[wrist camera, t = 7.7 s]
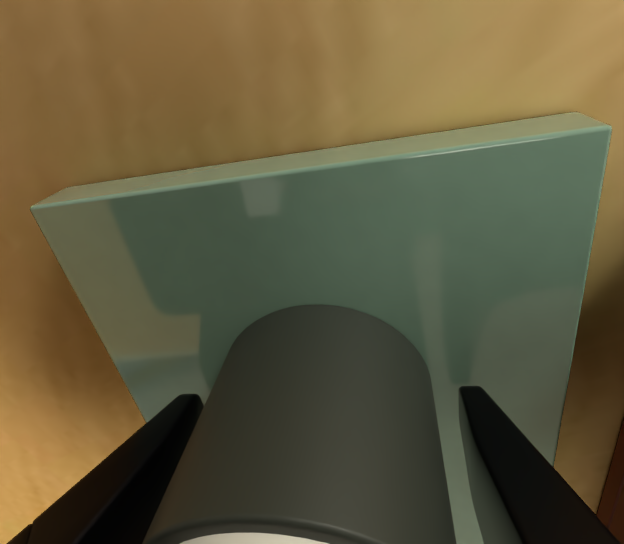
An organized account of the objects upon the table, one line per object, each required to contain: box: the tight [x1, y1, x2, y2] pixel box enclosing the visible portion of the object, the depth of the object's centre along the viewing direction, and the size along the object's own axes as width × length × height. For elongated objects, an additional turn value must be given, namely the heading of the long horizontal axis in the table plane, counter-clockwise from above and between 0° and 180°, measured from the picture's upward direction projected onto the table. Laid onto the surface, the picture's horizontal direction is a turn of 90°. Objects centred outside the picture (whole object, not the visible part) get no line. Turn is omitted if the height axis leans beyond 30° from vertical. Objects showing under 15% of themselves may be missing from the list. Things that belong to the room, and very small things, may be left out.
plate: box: [30, 112, 612, 544], centre depth 12 cm, size 20×10×1 cm, turn 10°
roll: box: [142, 304, 457, 544], centre depth 7 cm, size 5×5×5 cm
